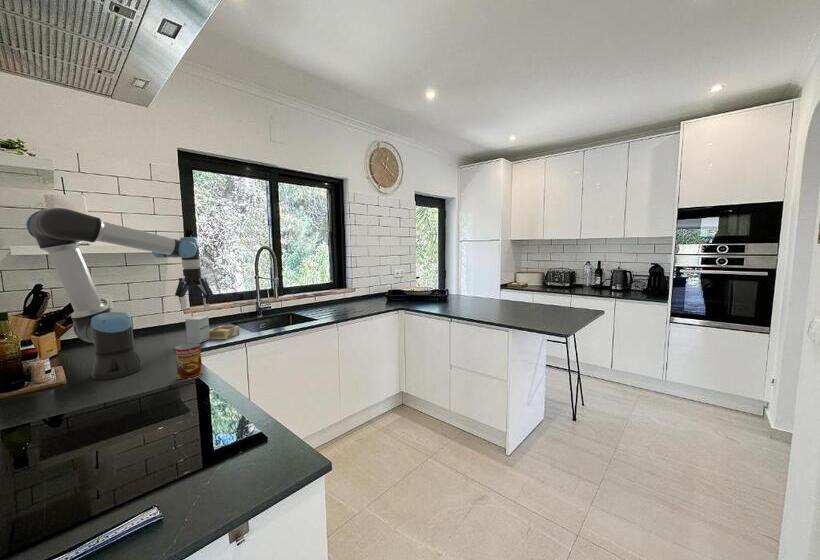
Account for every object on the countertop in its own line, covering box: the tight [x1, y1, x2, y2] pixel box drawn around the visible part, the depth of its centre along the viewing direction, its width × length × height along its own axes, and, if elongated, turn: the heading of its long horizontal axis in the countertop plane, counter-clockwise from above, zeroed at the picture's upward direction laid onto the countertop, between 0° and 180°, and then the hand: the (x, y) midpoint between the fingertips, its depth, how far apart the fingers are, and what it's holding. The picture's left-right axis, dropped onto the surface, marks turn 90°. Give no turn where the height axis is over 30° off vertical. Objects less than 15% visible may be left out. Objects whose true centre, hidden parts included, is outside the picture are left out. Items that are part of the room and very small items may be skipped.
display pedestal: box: [209, 325, 240, 340], centre depth 184 cm, size 11×11×4 cm
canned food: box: [174, 343, 203, 380], centre depth 130 cm, size 8×8×12 cm
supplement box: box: [185, 315, 211, 344], centre depth 175 cm, size 7×7×13 cm
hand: (195, 309), depth 174 cm, fingers open, 13 cm apart
